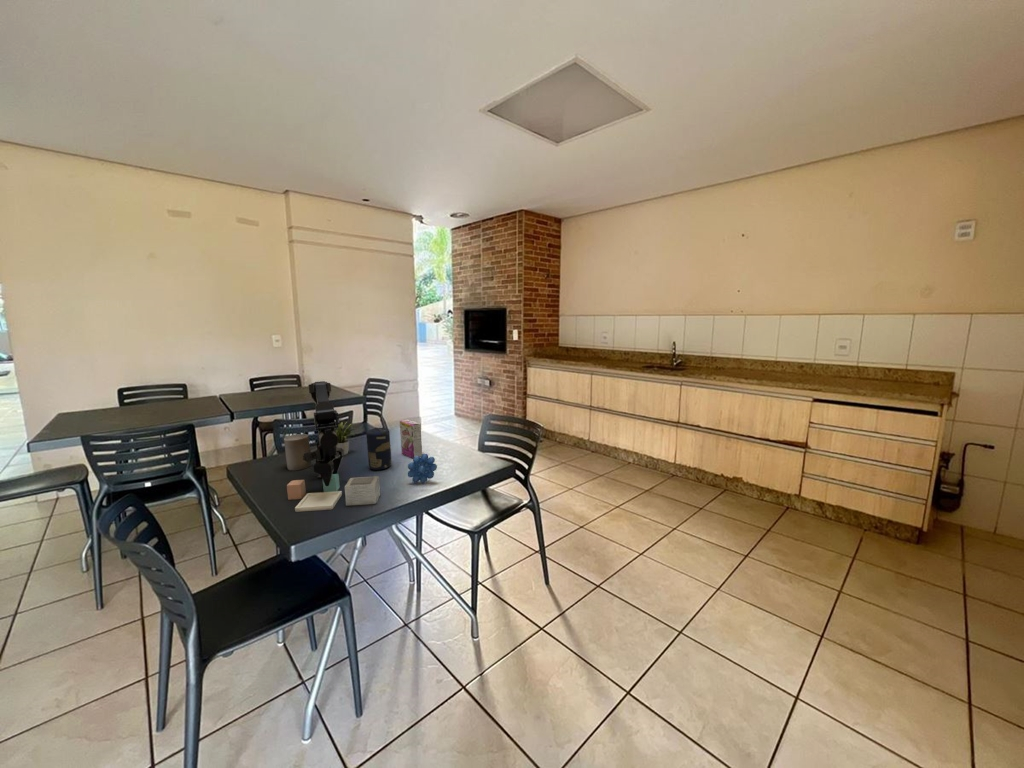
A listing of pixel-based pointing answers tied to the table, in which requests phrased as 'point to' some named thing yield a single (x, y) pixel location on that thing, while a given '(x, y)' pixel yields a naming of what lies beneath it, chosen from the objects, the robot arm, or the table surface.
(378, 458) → the canister
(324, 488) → the teal block
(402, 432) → the candy bar box
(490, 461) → the table surface
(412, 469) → the blue knobby flower
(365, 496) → the box
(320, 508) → the tray
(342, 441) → the house plant
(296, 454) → the pillar candle
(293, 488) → the terracotta block
